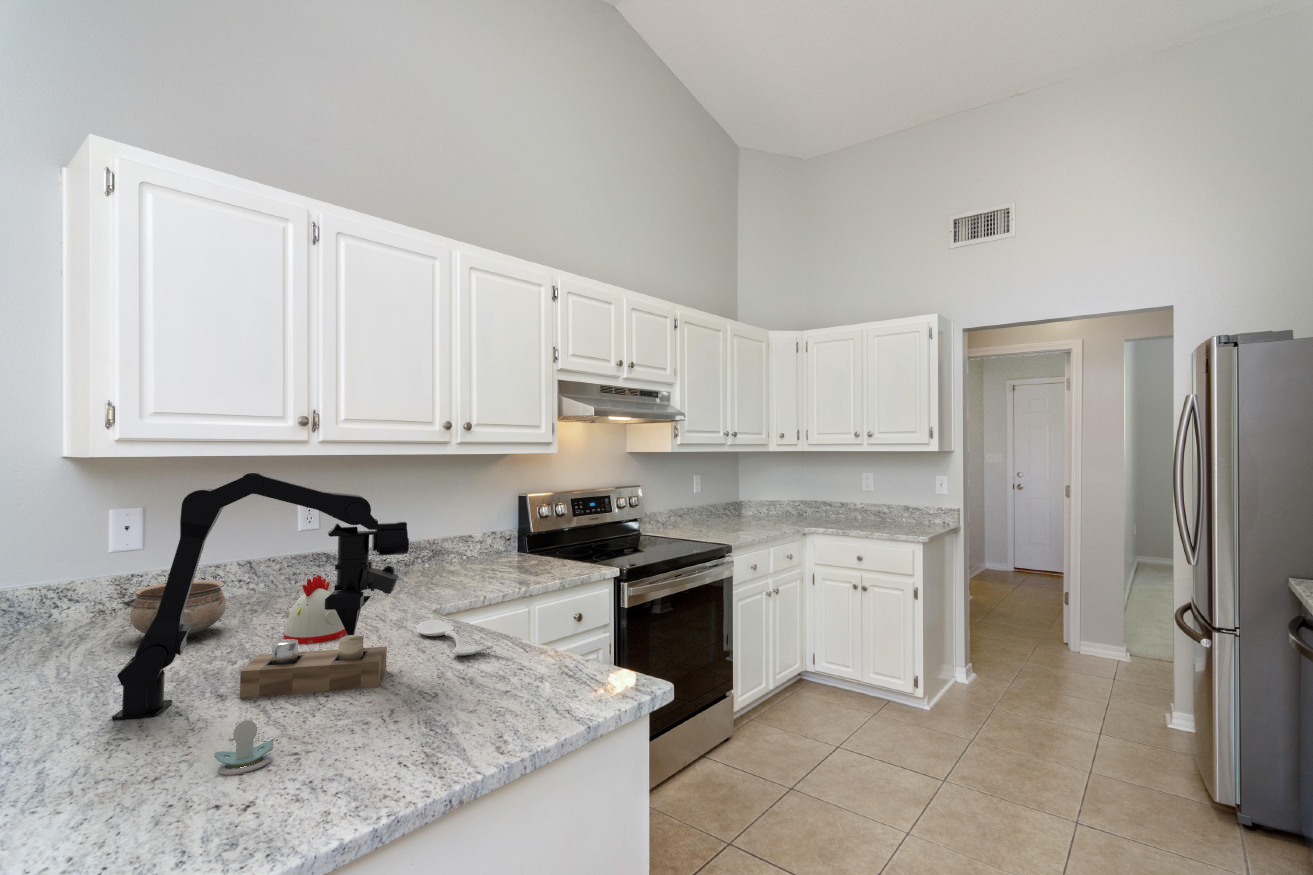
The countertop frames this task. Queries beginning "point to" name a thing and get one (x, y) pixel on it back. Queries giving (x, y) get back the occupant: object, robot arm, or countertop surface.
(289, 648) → the steel peg
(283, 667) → the walnut block
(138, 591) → the cooking pot
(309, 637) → the kitchen timer
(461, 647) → the spoon
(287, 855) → the countertop surface
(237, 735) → the pacifier
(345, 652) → the birch peg
